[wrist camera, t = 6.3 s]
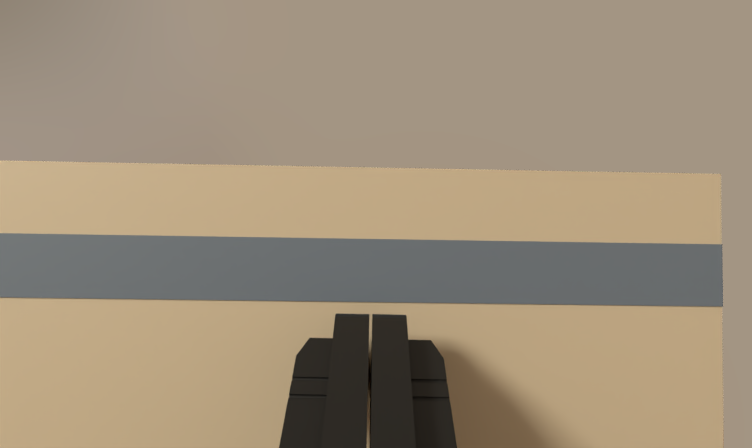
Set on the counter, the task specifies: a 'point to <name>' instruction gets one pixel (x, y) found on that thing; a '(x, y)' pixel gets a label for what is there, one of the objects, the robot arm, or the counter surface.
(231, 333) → the flap
